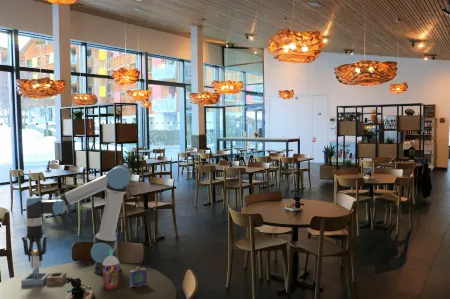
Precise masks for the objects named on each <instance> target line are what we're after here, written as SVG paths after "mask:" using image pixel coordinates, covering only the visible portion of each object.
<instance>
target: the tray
mask: <svg viewBox="0 0 450 299" xmlns="http://www.w3.org/2000/svg"><path fill="white" fill-rule="evenodd" d="M50 274H51V272H39V278H37V279H33V272H30V273H28V274H27V275H26V276H25V277H24V278H22V279H21V280H20V281H21V282H20V284H21V287H22V288H29V287H32V288H33V287H43V286H44V285H46V278H47V277H48V276H49V275H50Z"/></svg>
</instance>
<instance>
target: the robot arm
mask: <svg viewBox="0 0 450 299" xmlns="http://www.w3.org/2000/svg"><path fill="white" fill-rule="evenodd" d="M132 174H133V173H132V171H131V169H130V167H128V166H127V165H124V164H118V165H116V166H115V167H113V168H111V169H110V170H108V171H106V172H105V175H101V176H100V177H97V178H95V179H94V180H91V181H88V182H86V183H84V184H82V185H80V186H78V187H75V188H73V189H72V190H69V191H67V192H64V193H63V194H59V195H57V196H55V197H54V198H53V199H46V200H44V199H42V196H40V195H39V196H37V195H35V196H29V197H27V198H26V203H25V204H26V205H25V207H26V225H27V226H26V232H27V233H26V235H24V236H23V237H21V240H22V244H23V253H24V255H25V256H28V257H27V259H28V262H30V263H29V266H30V267H29V268H30V269H33V266H32V254H31V251H32V250H34V243H35V244H36V248H37V250H38V253H39V255H38V256H37V261H38V268H39V269H40V267H42V261H43V258H44V257H43V255H45V254H47V243H48V242H47V241H48V239H49V236H48V235H44V233H43V215H51V214H52V215H53V214H55V215H58V214H64V213H65V211H66V207H69V206H71V205H72V204H75V203H77V202H80V201H82V200H83V199H87V198H88V197H90V196H93V195H94V194H96V193H99V192H102V191H104V190H106V191H107V195H106V200H105V204H104V208H103V213H102V218H101V221H100V222H101V223H100V226H99V231H98V232H97V233H96V234H95V236H94V241H93V245H92V247H91V249H90V256H91V258H92V259H93V261H95V264H94V266H93V267H94V268H93V269H94V270H93V272H94V273H95V274H97V275H103V264H102V263H103V261H104V259H105V258H106V257H107V256H110V251H111V256H115V257H116V258H117V260H118V261H119V266H118V272H119V271H120V270H121V269H120V268H121V263H120V260H119V257H118V235H117V232H116V229H117V227H118V226H117V225H118V221H119V215H120V212H121V208H122V204H123V203H122V202H123V199H124V195H125V194H126V193H127V192H128V190H129V189H128V187H129V184H130V181H131V180H132V177H133V176H132ZM41 239H42V241H41ZM28 240H29V243H28Z"/></svg>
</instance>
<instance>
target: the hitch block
mask: <svg viewBox="0 0 450 299" xmlns="http://www.w3.org/2000/svg"><path fill="white" fill-rule="evenodd" d="M66 278H67V271H57V272H55V271H52V272H50V275H49V276H48V277H47V278H46V283H45V285H47V286H52V285H54V286H56V285H58V286H60V285H63V284H64V282H65V281H66V280H67V279H66ZM65 279H66V280H65Z"/></svg>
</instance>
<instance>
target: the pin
mask: <svg viewBox="0 0 450 299" xmlns="http://www.w3.org/2000/svg"><path fill="white" fill-rule="evenodd" d="M31 254H32V266H33V267H32V273H33V279H37V278H39V273H40V267H39V268H38V261H37V256H38V255H39V253H38V249H33V250H32V251H31Z"/></svg>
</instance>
